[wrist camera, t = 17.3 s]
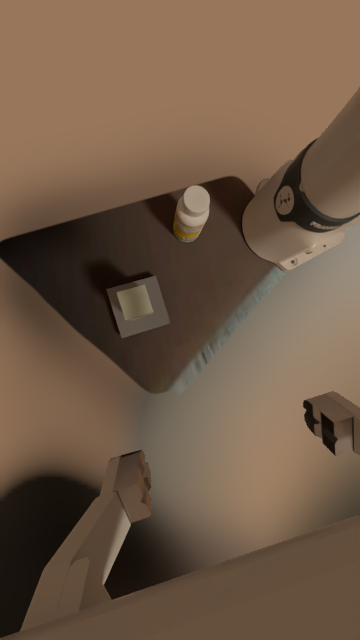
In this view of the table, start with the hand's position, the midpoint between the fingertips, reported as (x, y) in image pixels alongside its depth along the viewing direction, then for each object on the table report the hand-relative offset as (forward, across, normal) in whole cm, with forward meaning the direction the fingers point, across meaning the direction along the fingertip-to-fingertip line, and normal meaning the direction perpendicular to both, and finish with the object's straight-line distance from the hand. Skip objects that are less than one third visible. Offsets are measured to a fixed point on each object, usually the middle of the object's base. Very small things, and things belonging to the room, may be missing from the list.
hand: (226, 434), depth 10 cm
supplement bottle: (+34, -7, -15) cm, 37 cm away
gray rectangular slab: (+30, +6, -3) cm, 30 cm away
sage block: (+28, +6, -3) cm, 29 cm away
